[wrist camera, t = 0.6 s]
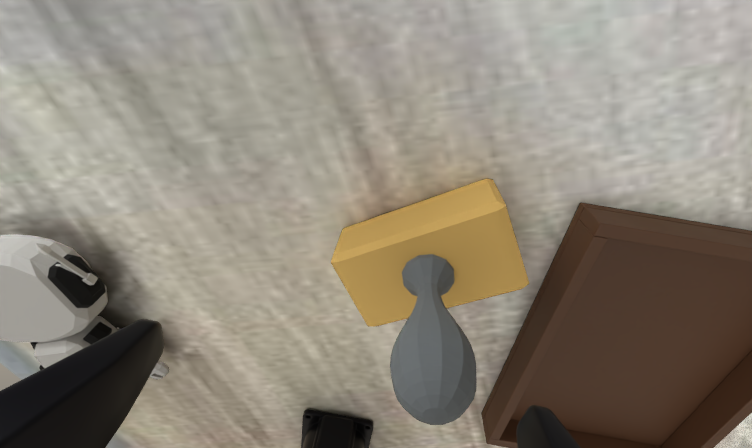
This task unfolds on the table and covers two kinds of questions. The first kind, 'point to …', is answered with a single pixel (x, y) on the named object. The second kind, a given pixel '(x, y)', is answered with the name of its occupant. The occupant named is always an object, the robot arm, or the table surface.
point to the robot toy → (51, 299)
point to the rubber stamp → (431, 288)
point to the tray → (635, 335)
